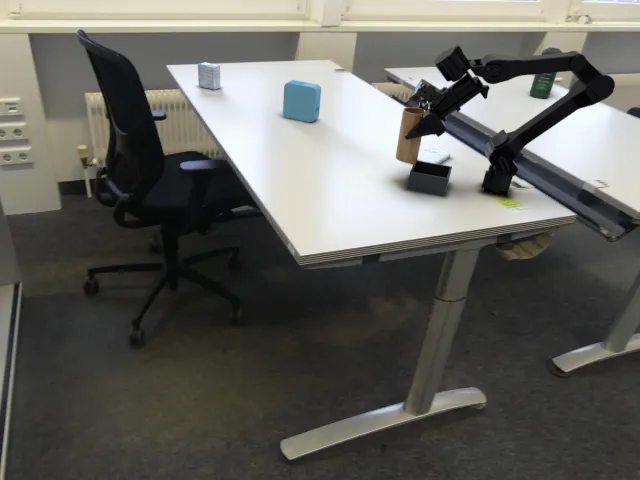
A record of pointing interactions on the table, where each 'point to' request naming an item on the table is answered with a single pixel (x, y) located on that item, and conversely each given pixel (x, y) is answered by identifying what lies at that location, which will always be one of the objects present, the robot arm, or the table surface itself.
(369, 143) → the table surface
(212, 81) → the medicine box
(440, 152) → the hard drive
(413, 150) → the cup
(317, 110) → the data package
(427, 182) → the bin
